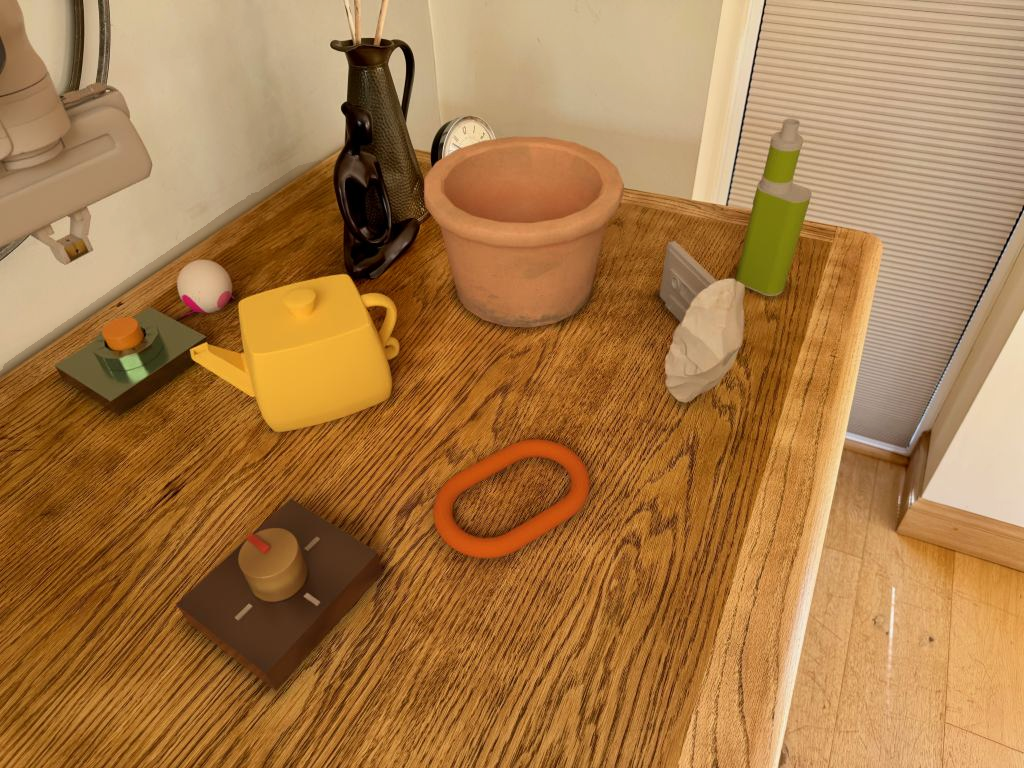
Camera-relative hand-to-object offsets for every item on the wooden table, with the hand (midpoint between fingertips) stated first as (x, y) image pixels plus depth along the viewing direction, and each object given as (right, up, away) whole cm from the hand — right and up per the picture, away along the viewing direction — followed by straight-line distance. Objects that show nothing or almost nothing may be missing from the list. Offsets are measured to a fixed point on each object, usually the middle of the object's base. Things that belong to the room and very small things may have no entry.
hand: (75, 256), depth 70 cm
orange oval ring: (+42, -23, -4) cm, 48 cm away
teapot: (+21, -13, +7) cm, 26 cm away
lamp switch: (+1, -10, +10) cm, 14 cm away
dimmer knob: (+24, -28, -13) cm, 39 cm away
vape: (+72, 0, +19) cm, 75 cm away
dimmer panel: (+24, -30, -11) cm, 40 cm away
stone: (+61, -14, +4) cm, 63 cm away
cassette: (+62, -6, +13) cm, 64 cm away
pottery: (+44, 0, +19) cm, 48 cm away
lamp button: (+1, -8, +8) cm, 11 cm away
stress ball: (+5, -3, +18) cm, 19 cm away
